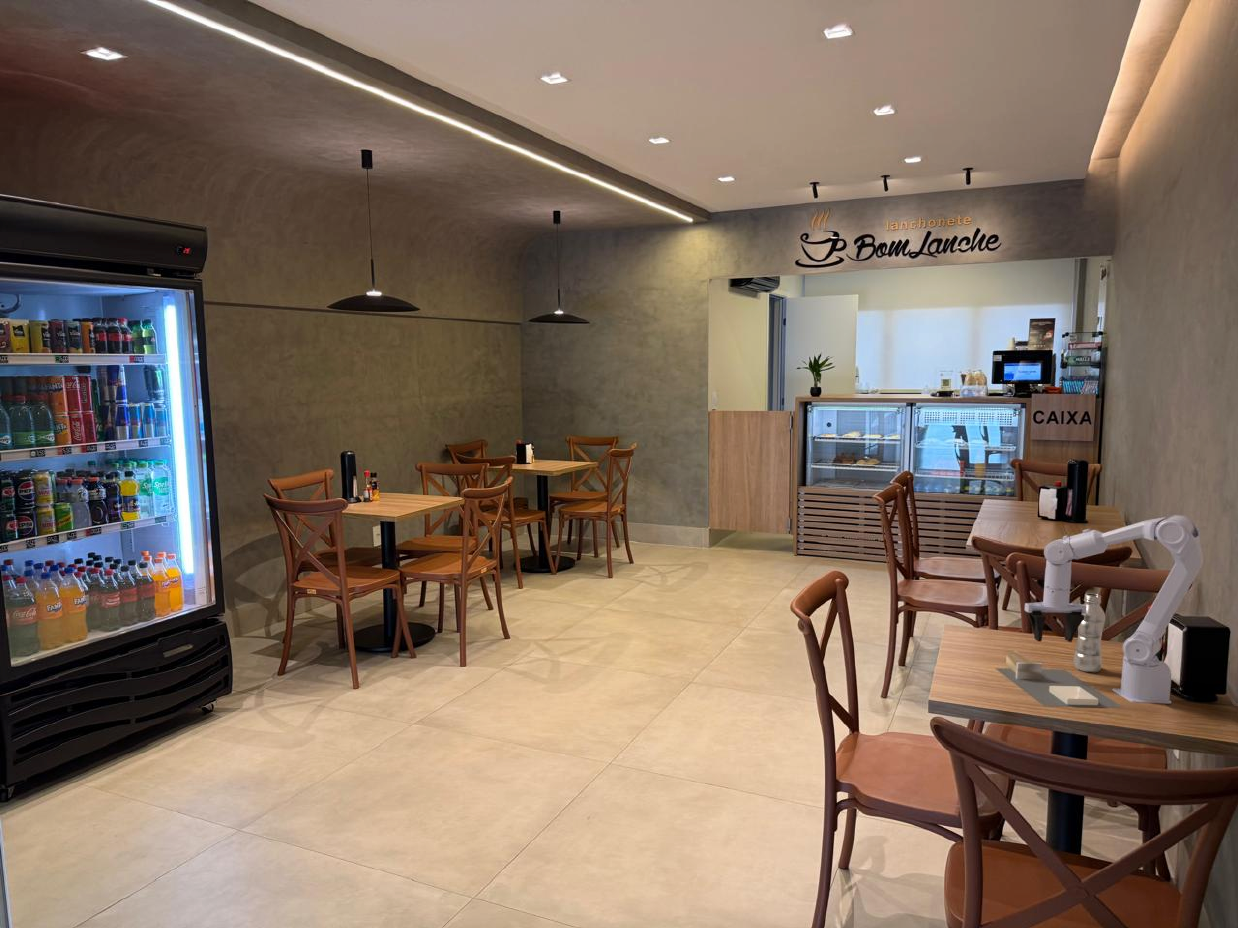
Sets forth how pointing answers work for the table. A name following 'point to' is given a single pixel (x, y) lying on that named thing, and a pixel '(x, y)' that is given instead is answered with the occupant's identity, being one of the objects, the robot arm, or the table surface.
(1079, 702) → the tile
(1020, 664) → the tan upright post
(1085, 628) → the plastic bottle
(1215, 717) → the table surface
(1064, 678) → the mat
